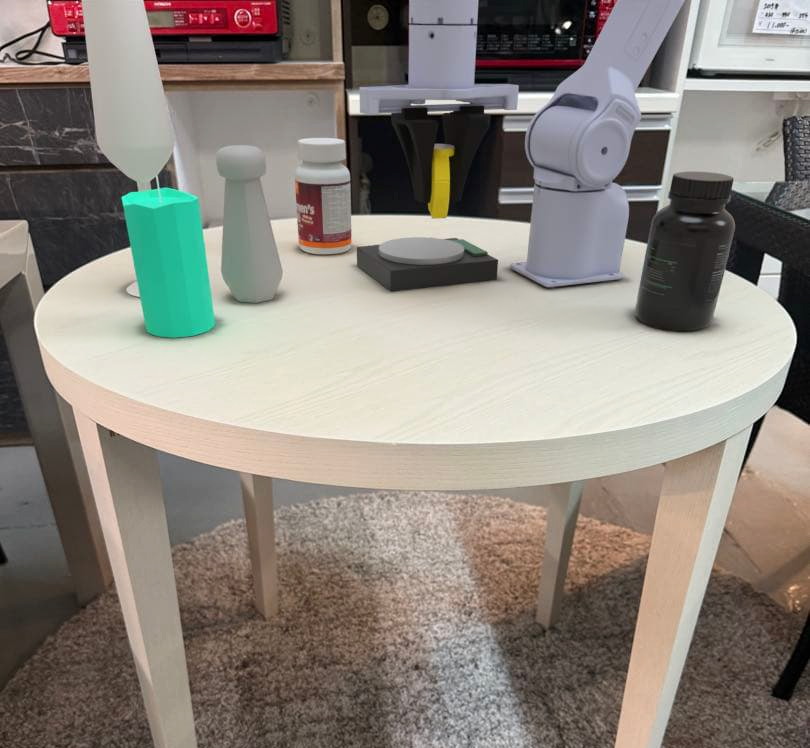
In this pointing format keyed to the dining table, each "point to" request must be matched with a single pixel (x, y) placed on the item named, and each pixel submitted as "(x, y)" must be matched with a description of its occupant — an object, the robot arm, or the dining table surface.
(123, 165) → the champagne flute
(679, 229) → the supplement bottle
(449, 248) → the scale
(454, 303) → the dining table surface
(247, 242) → the salt shaker
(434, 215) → the watch
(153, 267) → the candle
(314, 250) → the pill bottle
